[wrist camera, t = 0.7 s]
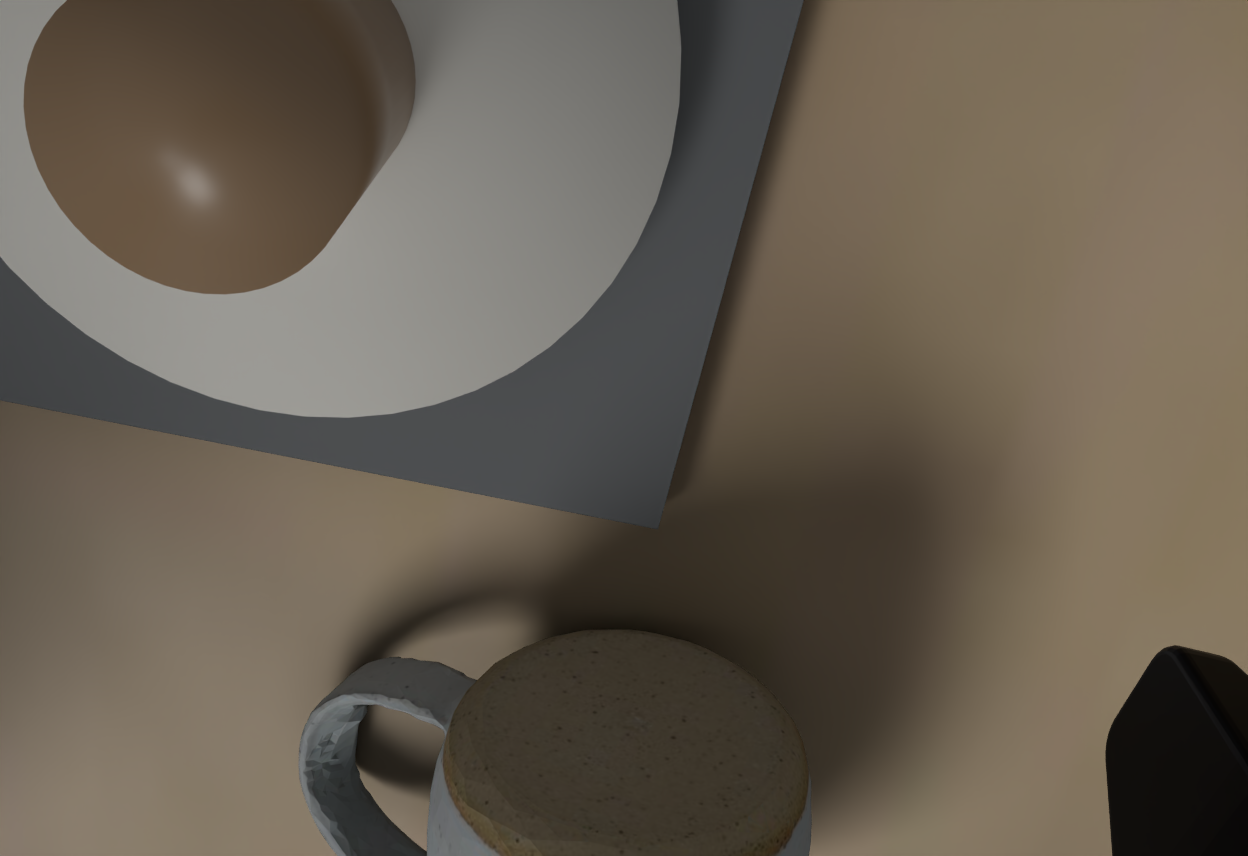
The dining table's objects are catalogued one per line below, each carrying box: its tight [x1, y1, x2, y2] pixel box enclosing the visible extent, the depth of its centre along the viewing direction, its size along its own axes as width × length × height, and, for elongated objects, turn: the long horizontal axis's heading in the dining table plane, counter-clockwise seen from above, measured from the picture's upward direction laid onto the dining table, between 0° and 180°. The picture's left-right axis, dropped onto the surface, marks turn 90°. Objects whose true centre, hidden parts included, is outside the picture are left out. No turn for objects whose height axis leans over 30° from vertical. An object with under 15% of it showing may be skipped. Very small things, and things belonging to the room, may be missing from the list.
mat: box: [0, 0, 804, 529], centre depth 19 cm, size 15×15×1 cm
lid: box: [0, 0, 681, 418], centre depth 17 cm, size 12×12×5 cm
